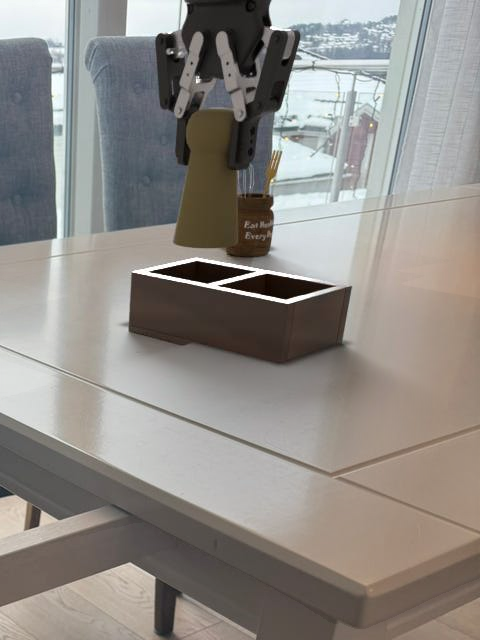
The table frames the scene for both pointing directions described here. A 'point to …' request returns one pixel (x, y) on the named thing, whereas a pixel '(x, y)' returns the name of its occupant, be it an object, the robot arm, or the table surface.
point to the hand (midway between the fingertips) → (212, 166)
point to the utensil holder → (255, 217)
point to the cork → (209, 184)
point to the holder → (238, 309)
